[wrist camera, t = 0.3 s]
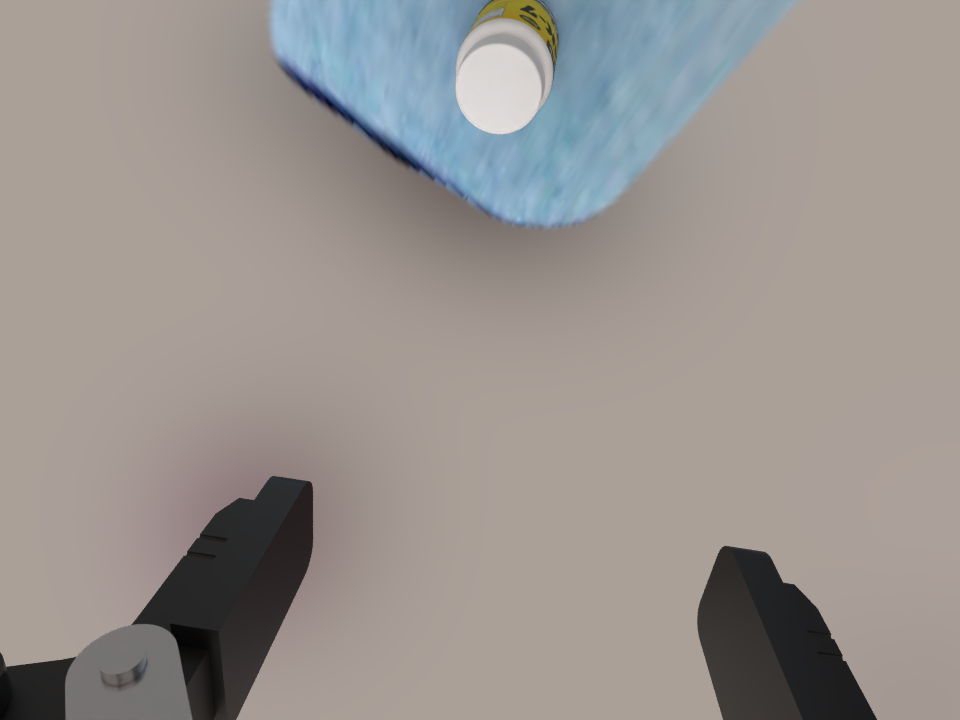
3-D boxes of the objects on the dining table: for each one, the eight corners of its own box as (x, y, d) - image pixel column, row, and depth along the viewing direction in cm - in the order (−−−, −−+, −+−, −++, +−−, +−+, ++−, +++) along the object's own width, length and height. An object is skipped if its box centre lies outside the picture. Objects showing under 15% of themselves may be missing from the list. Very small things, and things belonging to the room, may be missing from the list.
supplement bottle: (573, 56, 33) (569, 113, 27) (501, 99, 35) (482, 161, 29) (532, -31, 31) (517, 10, 25) (456, 21, 33) (425, 71, 27)
